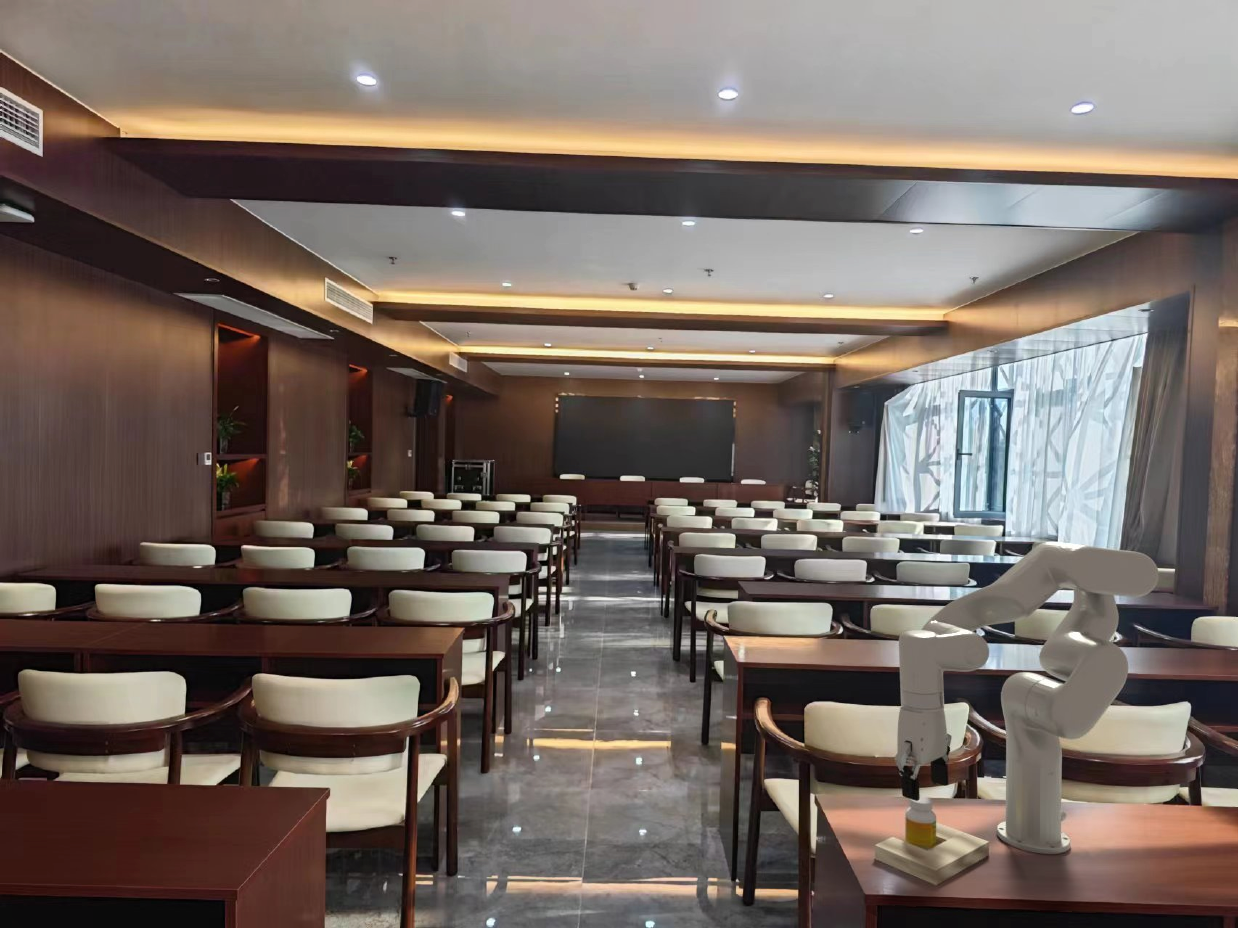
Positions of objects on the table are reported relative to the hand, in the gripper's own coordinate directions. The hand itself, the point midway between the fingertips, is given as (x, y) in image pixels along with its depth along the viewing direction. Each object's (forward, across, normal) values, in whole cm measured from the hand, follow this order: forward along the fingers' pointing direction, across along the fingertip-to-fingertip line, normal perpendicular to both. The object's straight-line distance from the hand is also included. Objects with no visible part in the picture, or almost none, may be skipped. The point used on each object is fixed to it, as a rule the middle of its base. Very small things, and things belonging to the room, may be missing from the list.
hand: (925, 790), depth 153 cm
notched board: (+11, +2, +2) cm, 11 cm away
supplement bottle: (+11, +1, -1) cm, 12 cm away
